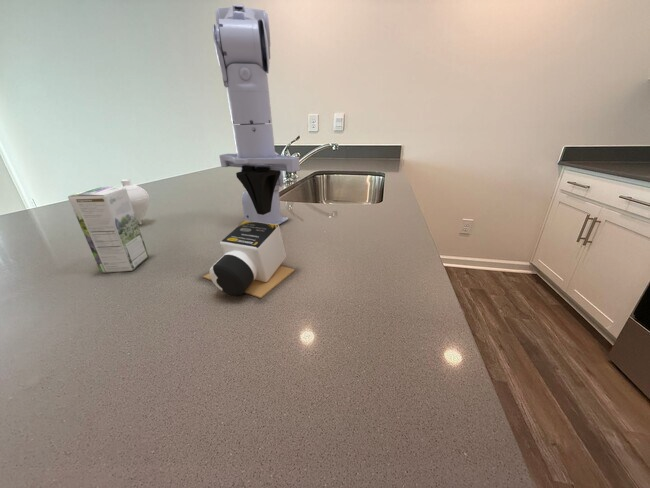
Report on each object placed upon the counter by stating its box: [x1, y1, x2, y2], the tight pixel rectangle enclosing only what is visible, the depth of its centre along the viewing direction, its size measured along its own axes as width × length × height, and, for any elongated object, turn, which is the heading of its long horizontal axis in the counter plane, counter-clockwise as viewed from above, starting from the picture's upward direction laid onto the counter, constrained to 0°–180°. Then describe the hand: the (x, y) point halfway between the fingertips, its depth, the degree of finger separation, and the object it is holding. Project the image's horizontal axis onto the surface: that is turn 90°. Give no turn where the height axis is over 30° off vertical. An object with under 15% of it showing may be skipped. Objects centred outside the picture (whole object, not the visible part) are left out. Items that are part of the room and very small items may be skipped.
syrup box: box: [67, 186, 149, 274], centre depth 46 cm, size 6×6×14 cm
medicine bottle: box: [209, 220, 287, 297], centre depth 42 cm, size 7×7×12 cm
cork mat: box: [202, 265, 295, 299], centre depth 45 cm, size 13×9×1 cm
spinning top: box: [120, 179, 151, 225], centre depth 67 cm, size 8×8×12 cm
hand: (264, 212), depth 44 cm, fingers closed
